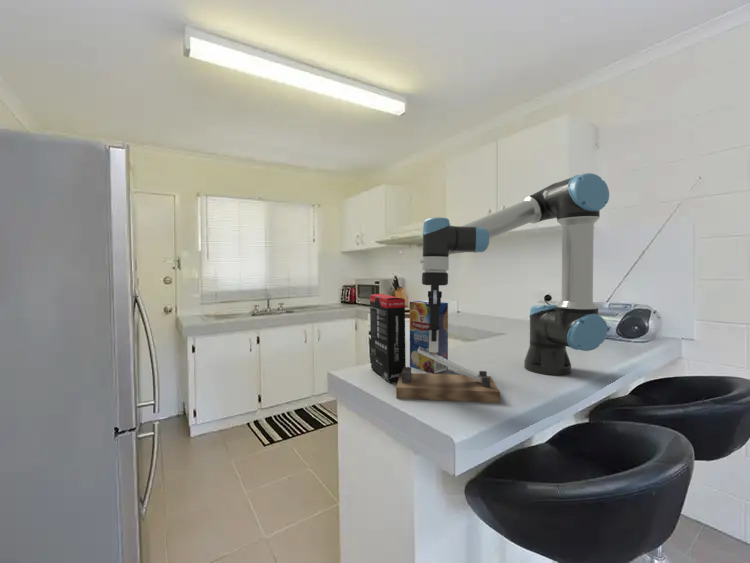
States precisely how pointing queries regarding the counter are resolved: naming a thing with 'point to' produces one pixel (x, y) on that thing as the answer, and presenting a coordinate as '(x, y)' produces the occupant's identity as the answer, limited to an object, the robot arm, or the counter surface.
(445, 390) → the plate
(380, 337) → the graphics card box
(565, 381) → the counter surface
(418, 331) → the juice carton
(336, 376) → the counter surface
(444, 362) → the latch bar
